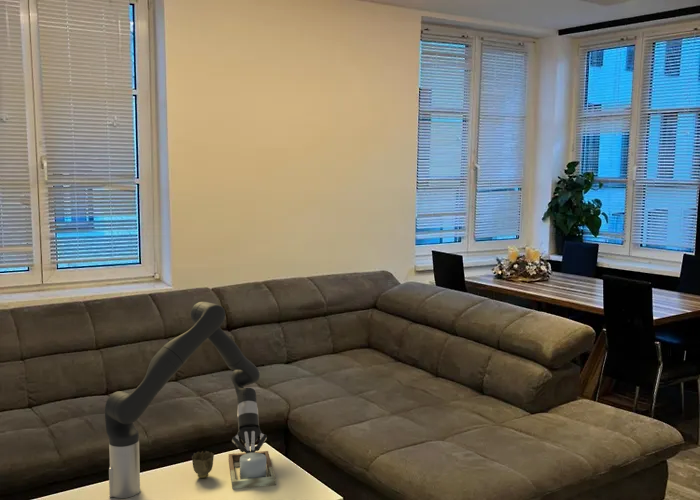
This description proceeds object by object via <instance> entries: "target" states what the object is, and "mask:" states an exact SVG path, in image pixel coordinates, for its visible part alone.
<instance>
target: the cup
mask: <svg viewBox="0 0 700 500" xmlns="http://www.w3.org/2000/svg"><path fill="white" fill-rule="evenodd" d="M214 454H215V453H213V452H212V451H211V452H210V451H209V450H208V451H207V450H205V451H204V450H202V451H201V452H200V451H197V452H196V453H195V452H194V453H193V455H191V461H192V468H193V471H194V473H195V474H197V478H198V479H201V480H202V479H204V480H205V479H207V478H208V477H209V473H210V472H211V471H212V469H213V465H214V456H215V455H214Z"/></svg>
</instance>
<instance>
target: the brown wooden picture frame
mask: <svg viewBox="0 0 700 500" xmlns="http://www.w3.org/2000/svg"><path fill="white" fill-rule="evenodd" d="M255 453H262V454H264V455H265V456H266V469H267V472H268V475H269V476H266V477H261V478H250V479H240V478H239V479H236V474H235V473H236V472H235V468H240V457H241V456H242V455H244V454H246V453H245V452H240V453H239V452H236V453H228V467H229V474H230V480H231V481H230V484H231V488H232V489H233V490H236V489H247V488H258V487H267V486H269V487H270V486H276V481H277V480H276V475H275V471H274V468H273V463H272V460H271V457H270V454H269V453H270V452H269V450H263V451H262V450H261V451H255Z"/></svg>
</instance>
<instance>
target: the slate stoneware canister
mask: <svg viewBox="0 0 700 500" xmlns="http://www.w3.org/2000/svg"><path fill="white" fill-rule="evenodd" d="M239 462H240V467H239V479H250V478H261V477H267V464H266V456H265V455H264V454H262V453H247V454H244V455H242V456H241V457H240V461H239Z"/></svg>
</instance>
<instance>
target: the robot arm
mask: <svg viewBox="0 0 700 500" xmlns="http://www.w3.org/2000/svg"><path fill="white" fill-rule="evenodd" d="M190 318H191V320H192V323H193V326H192V327H191V328H190V329H188V330H187V331H185V332H184V333H182V334H180V335H178V336H176V337H175V338H172V339H171V340H170V341H168V342H166V343H165V344H164V345H163V346H162V347H161V348H160V349H158V351H157V352H156V353H155V354H154V356H153V357H152V358H151V360H150V362H149V365H148V368H147V370H146V374H145V376H144V377H143V379H142V381H141V382H140V384H139V385H138V386H137V387H136V388H135V389H134V390H133V391H132V392H131V393H128V392H126V391H120V390H119V391H115V392H113V393H111V394H110V395H109V396H108V397H107V399H106V401H105V406H104V420H105V431H106V435H107V437H108V447H109V448H108V449H109V450H108V451H109V467H108V482H109V483H108V484H109V489H108V490H109V498H116V499H127V498H131V497H134V496H136V495H137V494H139V493H140V491H141V475H140V474H141V473H140V471H141V470H140V468H141V467H140V466H141V465H140V432H139V431H138V429H137V428H136V426H135V425H134V423H135V422H136V421H137V420H138V419H140V418H141V417H142V415H143V414H144V412H145V411H146V410H147V408H148V407H149V405H150V404H151V403H152V401H153V400H154V398H155V397H156V396H157V395H158V394H159V392H161V390H162V389H163V388H164V386H165V385H166V384H167V383H168V382H169V381H170V379H172V378H173V376H174V375H175V374H176V373H177V372H178V371H179V370H180V369H181V368H182V367H183V366H184V364H185V363H186V362H187V360H188V359H189V358H190V357H192V355H193V354H194V353H195V352H196V351H197V349H199V348H200V346H201V345H202V344H203V343H204V342H205V341H206V340H209V341H210V343H211V344H212V346H214V348H215V349H216V351H217V352H218V353H219V355H220V357H221V358H222V359H223V361H224V362H225V365H226V366H227V367H228V369H230V370H232V373H231V375H230V376H231V377H230V379H231V382H232V385H233V388H234V390H235V393H236V397H237V398H236V400H237V413H236V414H237V415H236V416H237V427H238V428H237V434H235V436H232V438H231V442H232V444H233V445H235V447H236V448H237V449H239V451H240V453H246V454H247V453H255V452H260V451H259V450H260V449H261V448H262V446H263V445H264V444H265V442H266V441H267V438H268V435H267V434H266V433H265V434H264V433H262V430H261V429H260V420H259V408H258V402H257V392H256V390H255V389H254V388H252V387H246V386H250V385H252V384H255V383H257V382H258V381H259V380H260V375H261V374H260V372H259V369H258V367H257V366H256V365H255V364H254V362H252V361H251V360H250V359H248V358H247V357H246V356H245V355H244V354H243V352H242V350H241V349H240V347H239V346H238V344H237V343H236V342H235V340H233V339H232V337H230V336H229V335H228V334H227V333H226V332H225V331H224V330H223V329H222V328H221V326H222V325H223V323H224V321H225V318H226V311H225V308H224V307H223V306H221V305H220V304H217V303H212V302H210V301H209V302H208V301H199V302H196V303H195V304H194V305H193V306H192V307H191V310H190ZM258 440H259V441H258ZM257 441H258V443H257V444H255V443H256V442H257ZM241 442H242V443H243V444H244V445H243V444H242V443H241Z"/></svg>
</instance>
